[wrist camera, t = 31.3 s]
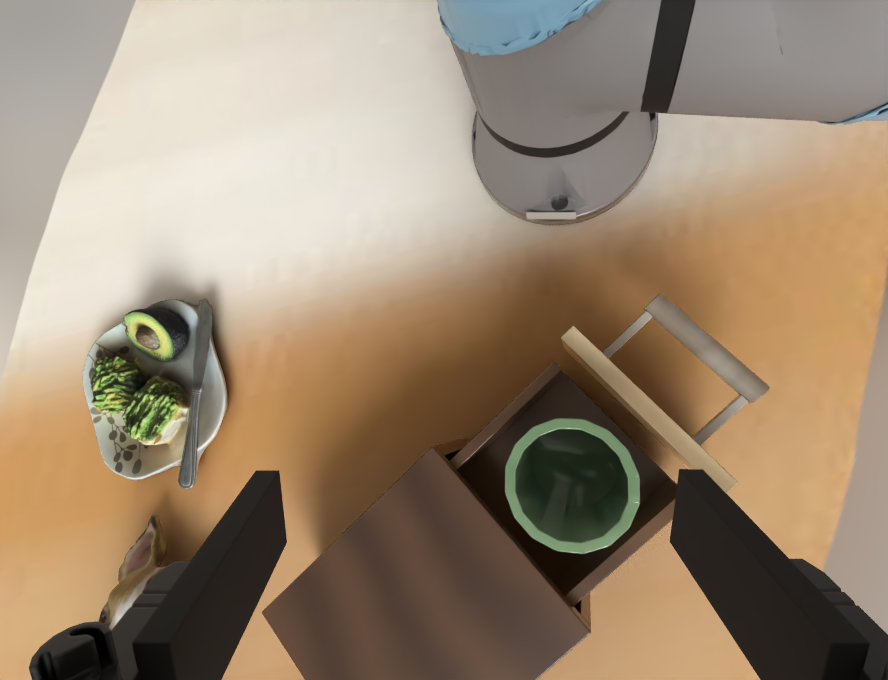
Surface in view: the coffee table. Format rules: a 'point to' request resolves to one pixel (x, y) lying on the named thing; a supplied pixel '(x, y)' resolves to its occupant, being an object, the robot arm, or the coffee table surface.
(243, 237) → the coffee table surface
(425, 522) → the cabinet
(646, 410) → the drawer
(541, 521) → the pot
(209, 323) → the avocado toast plate
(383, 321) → the coffee table surface
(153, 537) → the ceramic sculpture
